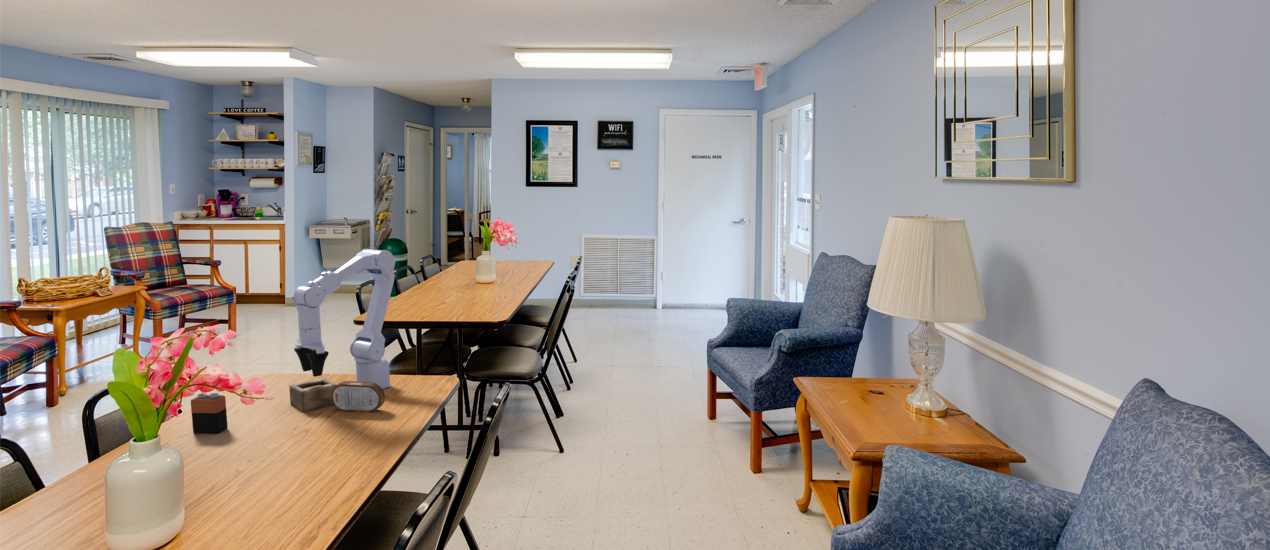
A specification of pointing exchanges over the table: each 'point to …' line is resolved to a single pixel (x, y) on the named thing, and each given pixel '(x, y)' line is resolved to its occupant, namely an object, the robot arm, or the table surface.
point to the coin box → (311, 394)
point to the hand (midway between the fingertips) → (312, 373)
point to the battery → (209, 413)
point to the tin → (358, 396)
